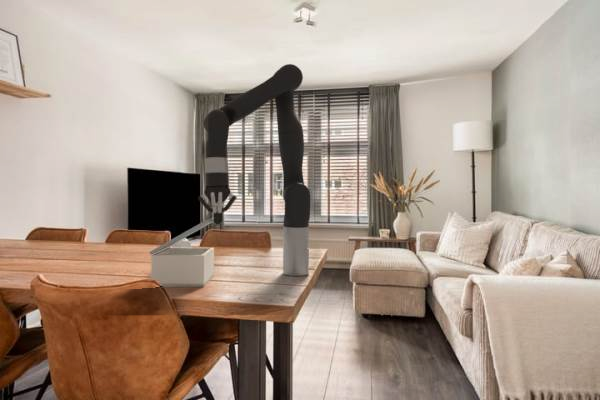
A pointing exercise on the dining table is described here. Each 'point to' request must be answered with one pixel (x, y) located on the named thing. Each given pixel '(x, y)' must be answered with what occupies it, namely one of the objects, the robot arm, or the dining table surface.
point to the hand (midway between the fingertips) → (218, 224)
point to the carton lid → (182, 235)
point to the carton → (183, 267)
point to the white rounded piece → (182, 244)
